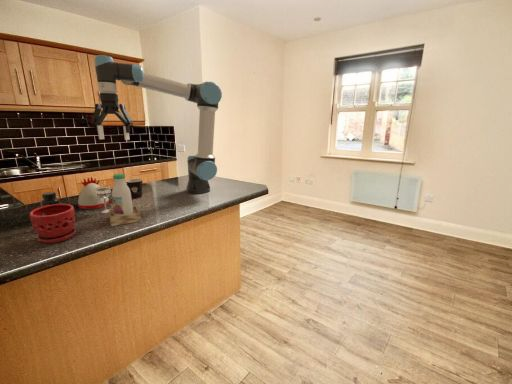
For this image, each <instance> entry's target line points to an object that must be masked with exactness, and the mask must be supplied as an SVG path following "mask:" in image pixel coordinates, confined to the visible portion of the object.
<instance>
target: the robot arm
mask: <svg viewBox="0 0 512 384" xmlns="http://www.w3.org/2000/svg"><path fill="white" fill-rule="evenodd" d="M94 67H95V75H96V80H97V87H98V92H99V94H98V95H99V100H100V103H95V104H94V112H93V116H92V119H91V124H92V125H95V127H96V132H97V134H98V140H105V133H104V126H103V122H104V120H105V119H106V117H107V116H108V115H115V116H116V117H117V118H118V119H119V120H120V122H121V123H122V124H123V127H122V128H123V134H124V140H125V141H130V139H131V138H130V133H131V125H132V126H133V125H134V122H133V120H132V118H131V116H130V114H129V113H128V111H127V108H126V105H125V104H123V103H119V94H118V85H117V81H120V82H121V83H122V84H124V85H127V86H134V87H139V88H142V89H146V90H151V91H155V92H159V93H163V94H168V95H170V96H171V95H172V96H174V97H180V98H183V99H185V100H186V101H187V102H192V103H194V104H196V108H197V109H198V111H199V117H198V137H197V139H198V145H197V153H196V154H195V155H188V156H187V160H186V163H187V173H188V174H187V175H188V181H187V185H186V192H187V193H189V194H196V195H197V194H205V193H209V192H210V191H211V185H210V183H209V180H210V181H211V180H212V179H213V178H214V177H216V175H217V172H218V167H217V165H216V157H215V155H214V137H215V136H214V135H215V121H216V120H215V119H216V117H215V116H216V111H218V110H219V102H221V100H222V98H223V94H222V93H223V92H222V89H221V87H220V86H219V85H218V84H217V83H216V82H213V81H204V82H202V83H199V84H198V83H197V84H196V83H195V84H194V83H190V82H188V83H182V82H179V81H175V80H171V79H169V78H168V79H167V78H165V77H160V76H157V75H154V74H149V73H146V72H144V71H143V70H144V69H143V67H142V65H139V64H134V63H123V62H116V61H114V59H113V57H112V56H109V55H102V54H100V55H99V54H98V55H95V56H94Z"/></svg>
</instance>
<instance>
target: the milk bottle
mask: <svg viewBox="0 0 512 384" xmlns="http://www.w3.org/2000/svg"><path fill="white" fill-rule="evenodd" d="M112 179H113V182H114V183H113V185H112V186H113V187H112V189H111V199H112V200H111V201H112V206H113V209H114V215H115V217H120V216H126V215H133V207H134V206H133V201H132V199H133V198H131V192H130V189H129V187H128V186H127V183H126V175H125V174H124V173H117V174H113V175H112Z"/></svg>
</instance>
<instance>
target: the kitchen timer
mask: <svg viewBox="0 0 512 384" xmlns="http://www.w3.org/2000/svg"><path fill="white" fill-rule="evenodd" d="M99 182H100V180H97V179H96V178H94V179H93V177H92V176H90V177H87V180H86V179H85V178H83V181H82V180H80V183H81V184H82V185H83V187H82V188H81V190H80V192H79V193H78V194H79V195H78V200H77V201H78V202H77V203H78V208H80V209H84V210H86V209H87V210H90V209H97V208H101V207H105V204H104V199H102V198H99V197H98V196H96V194H95V191H96V190H95V188H97V187H101V185H99ZM105 200H106V206H107V205H109V204H110V199H109V197H107V198H106V199H105Z"/></svg>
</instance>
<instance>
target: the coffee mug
mask: <svg viewBox="0 0 512 384" xmlns="http://www.w3.org/2000/svg"><path fill="white" fill-rule="evenodd" d="M125 182H126V184H127V186H128V187H129V189H130V192H131V198H132V199H134V200H135V199H141V198H142V197H143V178H142V179H141V178H131V179H127V180H125Z"/></svg>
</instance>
